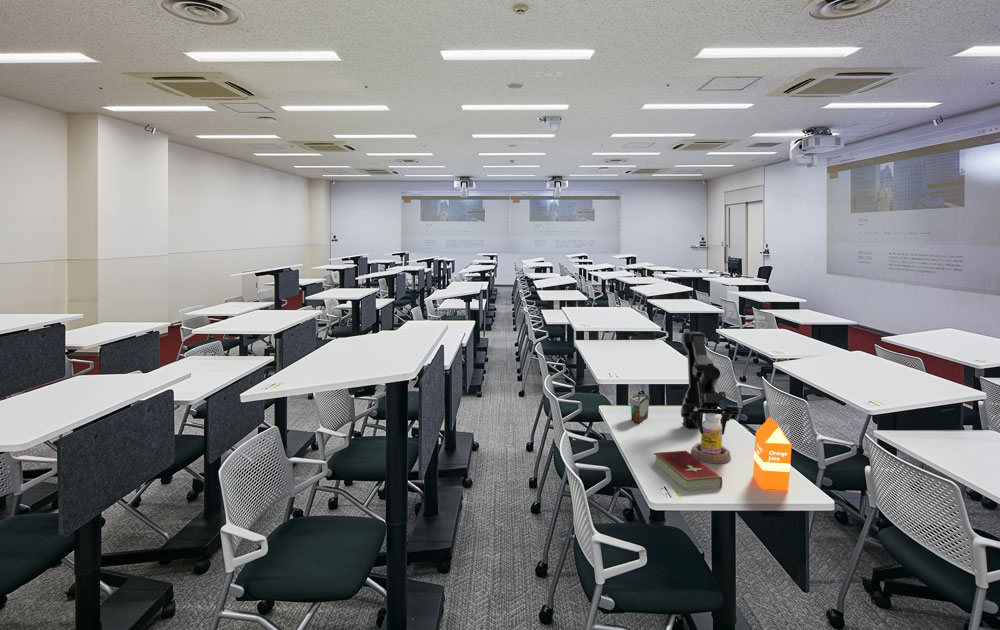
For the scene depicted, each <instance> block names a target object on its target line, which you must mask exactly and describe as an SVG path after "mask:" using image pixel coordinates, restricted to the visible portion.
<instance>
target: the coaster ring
mask: <svg viewBox="0 0 1000 630" xmlns="http://www.w3.org/2000/svg"><path fill="white" fill-rule="evenodd" d="M730 453H731V451H730V450H729V449H728V448H726V447H725V446H724V445H722V448H721V452H720V453H718V454H709V453H705V452H703V451H702V450H701V442H700V443H699V442H698V443H695V444H694V445H693V446H692V447H691V450H690V454H691V455H693V456H694V457H695V458H697V459H698V460H699V461H701V462H702V463H705V464H713V465H723V464H727V463H729V462H731V460H732V457H731V454H730Z"/></svg>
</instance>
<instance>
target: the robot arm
mask: <svg viewBox="0 0 1000 630" xmlns="http://www.w3.org/2000/svg"><path fill="white" fill-rule="evenodd" d="M681 343H682V347H683V349H684V351H685V352H686V353H687V370H688V371H687V372H688V373H687V374H688V389H687V391H686V392H685V394H684V398H683V400H682V404H681V408H680V416H681V417H682V419H683V421H682V425H683V426H685V427H686V428H687V429H690V430H692V429H693V430H694V429H697V430H698V431H699V433H700V435H701V434H703V428H702V423H703V422H704V420H703V419H704V414H708V413H713V414H717V415H721V417H720V420H719V422H720V423H721V424H722V436H724V434H725V430H726V425H727V422H729V421H730V420H733V421H734V420H735V421H736V419H738V417H739V415H740V407H738V406H737V405H730V404H729V405H728V404H727V405H726V406H725V407H724V408H719V407H720V404H721V402H726V400H727V395H726V392H725V391H718V393H717V391H716V385H717V384H718V381H719V380H720V377H721V371H720V369H719V368H718V367H716V366H715V365H714V362H713V360H712V359H711V358H710V357H709V356H708V352H707V347H706V333H704V332H703V333H702V332H701V331H684V333H682V334H681Z"/></svg>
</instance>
